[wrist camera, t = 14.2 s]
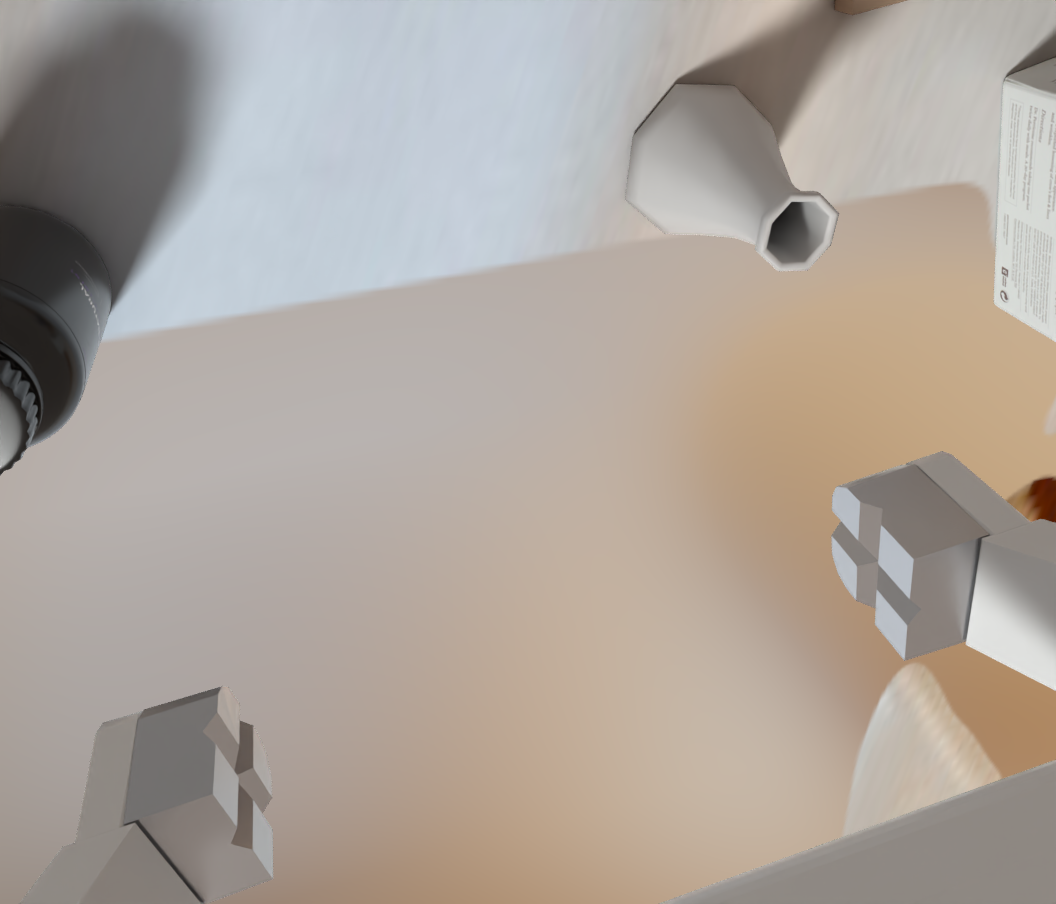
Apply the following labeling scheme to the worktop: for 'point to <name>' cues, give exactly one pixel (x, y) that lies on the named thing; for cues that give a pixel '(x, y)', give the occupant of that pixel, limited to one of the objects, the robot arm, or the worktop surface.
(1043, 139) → the supplement box
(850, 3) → the square holder on base
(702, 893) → the robot arm
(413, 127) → the worktop surface
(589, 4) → the worktop surface
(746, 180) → the flask
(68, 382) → the supplement bottle
